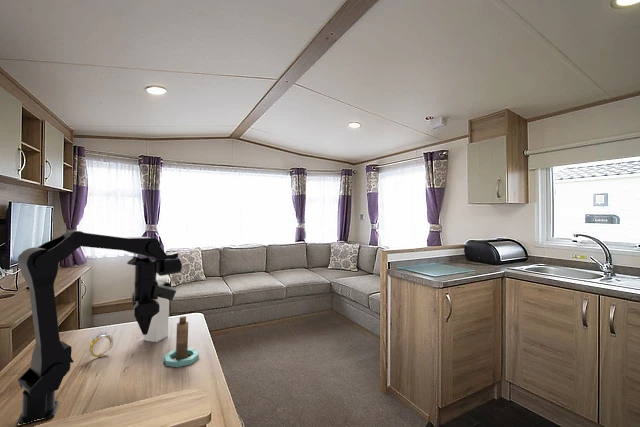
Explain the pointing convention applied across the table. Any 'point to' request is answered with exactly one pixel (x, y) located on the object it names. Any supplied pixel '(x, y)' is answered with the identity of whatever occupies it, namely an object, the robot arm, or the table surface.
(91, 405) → the table surface
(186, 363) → the teal faceted ring
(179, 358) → the brown peg
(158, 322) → the milk
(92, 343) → the ring
